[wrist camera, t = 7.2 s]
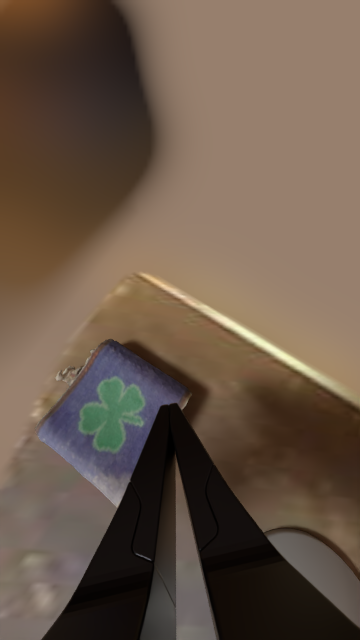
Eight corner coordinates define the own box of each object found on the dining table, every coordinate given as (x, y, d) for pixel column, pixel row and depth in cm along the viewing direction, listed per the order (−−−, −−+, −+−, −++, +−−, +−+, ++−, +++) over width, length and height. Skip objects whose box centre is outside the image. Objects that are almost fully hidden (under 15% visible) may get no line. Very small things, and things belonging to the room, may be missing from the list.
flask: (120, 523, 12) (9, 421, 14) (132, 498, 15) (37, 416, 17) (194, 391, 15) (91, 323, 17) (192, 391, 17) (104, 333, 19)
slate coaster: (417, 689, 11) (429, 705, 11) (281, 817, 10) (287, 842, 9) (312, 500, 15) (317, 505, 14) (198, 575, 13) (198, 584, 13)
